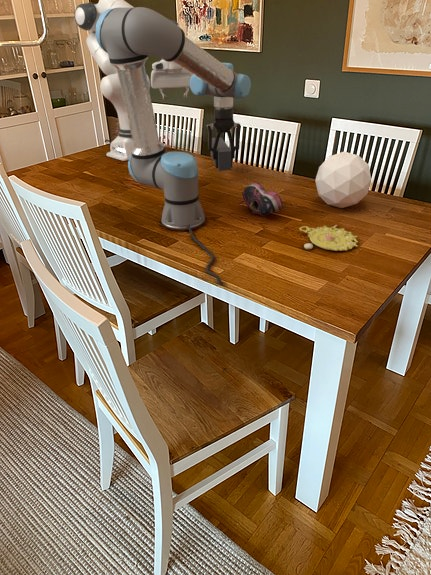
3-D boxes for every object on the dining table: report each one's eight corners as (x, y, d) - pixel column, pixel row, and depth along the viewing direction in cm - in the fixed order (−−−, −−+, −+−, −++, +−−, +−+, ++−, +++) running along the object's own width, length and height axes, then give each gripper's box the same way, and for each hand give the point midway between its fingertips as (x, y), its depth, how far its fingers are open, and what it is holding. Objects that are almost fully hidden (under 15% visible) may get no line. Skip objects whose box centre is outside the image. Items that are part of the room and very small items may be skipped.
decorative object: (343, 255, 128) (285, 234, 139) (342, 262, 130) (284, 241, 140) (372, 230, 142) (317, 213, 152) (371, 237, 143) (316, 219, 153)
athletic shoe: (254, 181, 170) (227, 189, 167) (283, 176, 151) (253, 185, 147) (260, 210, 173) (234, 218, 170) (290, 209, 154) (261, 219, 150)
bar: (231, 170, 182) (231, 150, 178) (218, 170, 181) (218, 151, 177) (221, 154, 202) (221, 137, 198) (210, 155, 201) (210, 137, 197)
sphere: (346, 226, 165) (361, 198, 146) (301, 199, 169) (309, 168, 151) (372, 190, 170) (389, 158, 151) (327, 165, 174) (338, 131, 156)
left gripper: (195, 62, 194) (197, 95, 201) (148, 64, 191) (152, 98, 199) (197, 63, 189) (198, 98, 196) (149, 65, 186) (152, 100, 194)
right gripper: (244, 104, 176) (243, 163, 188) (199, 106, 174) (200, 165, 186) (248, 108, 170) (247, 168, 182) (201, 110, 167) (203, 170, 180)
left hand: (174, 98), depth 197 cm, fingers open, 8 cm apart
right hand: (223, 166), depth 184 cm, fingers closed on bar, 5 cm apart
